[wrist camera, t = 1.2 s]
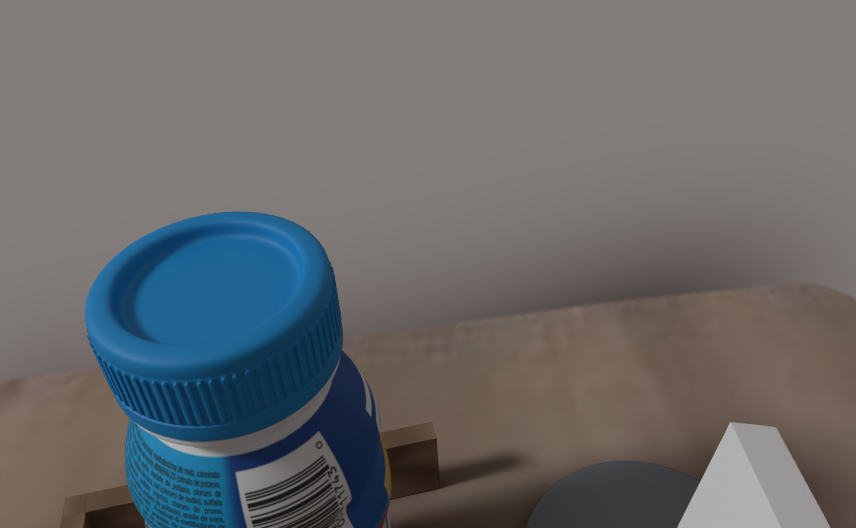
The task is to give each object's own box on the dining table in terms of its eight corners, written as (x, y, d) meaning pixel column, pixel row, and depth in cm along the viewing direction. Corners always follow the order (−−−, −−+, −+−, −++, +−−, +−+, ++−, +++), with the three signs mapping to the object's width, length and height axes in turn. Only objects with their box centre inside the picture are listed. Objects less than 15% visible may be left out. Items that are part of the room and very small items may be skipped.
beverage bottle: (183, 718, 30) (-27, 378, 18) (252, 530, 37) (132, 184, 24) (389, 749, 29) (318, 408, 17) (422, 549, 36) (389, 195, 23)
